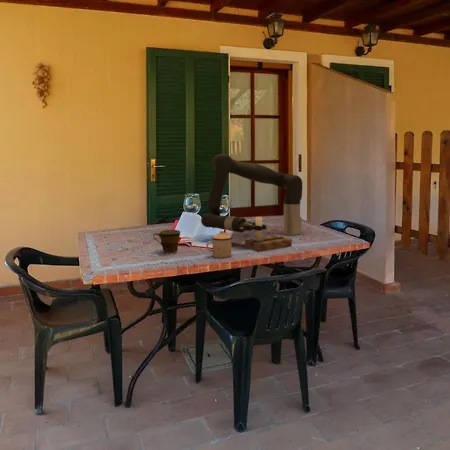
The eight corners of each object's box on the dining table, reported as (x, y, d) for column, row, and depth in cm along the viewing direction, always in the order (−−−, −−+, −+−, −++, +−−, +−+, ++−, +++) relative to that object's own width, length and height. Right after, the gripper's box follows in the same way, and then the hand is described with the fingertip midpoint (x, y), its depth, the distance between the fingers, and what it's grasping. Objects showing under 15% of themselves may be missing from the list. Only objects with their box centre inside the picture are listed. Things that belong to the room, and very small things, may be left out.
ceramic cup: (181, 249, 228) (180, 229, 226) (180, 254, 218) (179, 233, 216) (155, 249, 227) (154, 230, 226) (152, 255, 218) (151, 234, 216)
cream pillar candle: (259, 244, 231) (259, 216, 229) (264, 245, 228) (264, 217, 225) (253, 245, 229) (253, 217, 227) (257, 246, 226) (257, 218, 223)
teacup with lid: (228, 252, 221) (228, 228, 219) (234, 257, 212) (234, 232, 210) (204, 254, 217) (203, 230, 215) (209, 259, 209) (208, 234, 207)
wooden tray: (276, 241, 242) (276, 235, 241) (291, 246, 232) (291, 239, 231) (245, 246, 232) (245, 239, 231) (259, 251, 222) (259, 244, 221)
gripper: (226, 218, 229) (255, 222, 219) (243, 215, 240) (271, 218, 230) (226, 233, 231) (255, 238, 220) (243, 229, 242) (271, 233, 231)
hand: (263, 227), depth 225 cm, fingers closed on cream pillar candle, 3 cm apart
